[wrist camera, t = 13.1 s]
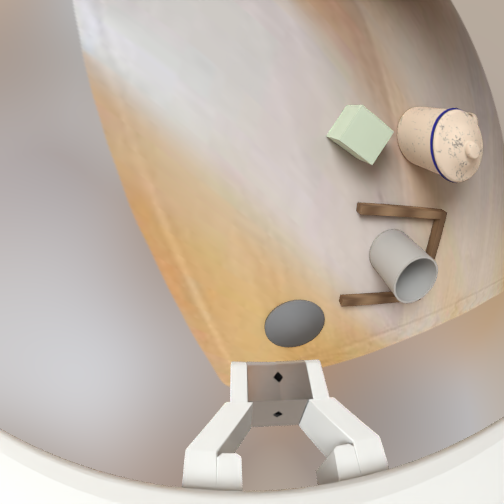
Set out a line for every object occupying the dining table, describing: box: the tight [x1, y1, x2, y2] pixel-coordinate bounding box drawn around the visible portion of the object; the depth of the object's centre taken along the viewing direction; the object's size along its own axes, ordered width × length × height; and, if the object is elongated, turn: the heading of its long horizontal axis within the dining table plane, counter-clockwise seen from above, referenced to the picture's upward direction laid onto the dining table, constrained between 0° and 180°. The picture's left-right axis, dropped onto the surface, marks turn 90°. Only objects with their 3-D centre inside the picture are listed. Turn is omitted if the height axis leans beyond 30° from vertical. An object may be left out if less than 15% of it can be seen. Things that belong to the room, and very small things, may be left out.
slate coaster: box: [265, 300, 324, 347], centre depth 45 cm, size 10×10×1 cm
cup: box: [369, 229, 438, 303], centre depth 36 cm, size 7×10×9 cm
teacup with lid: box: [397, 107, 483, 183], centre depth 26 cm, size 12×9×12 cm
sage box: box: [327, 105, 393, 165], centre depth 30 cm, size 5×5×5 cm
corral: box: [339, 202, 447, 306], centre depth 40 cm, size 16×16×2 cm
